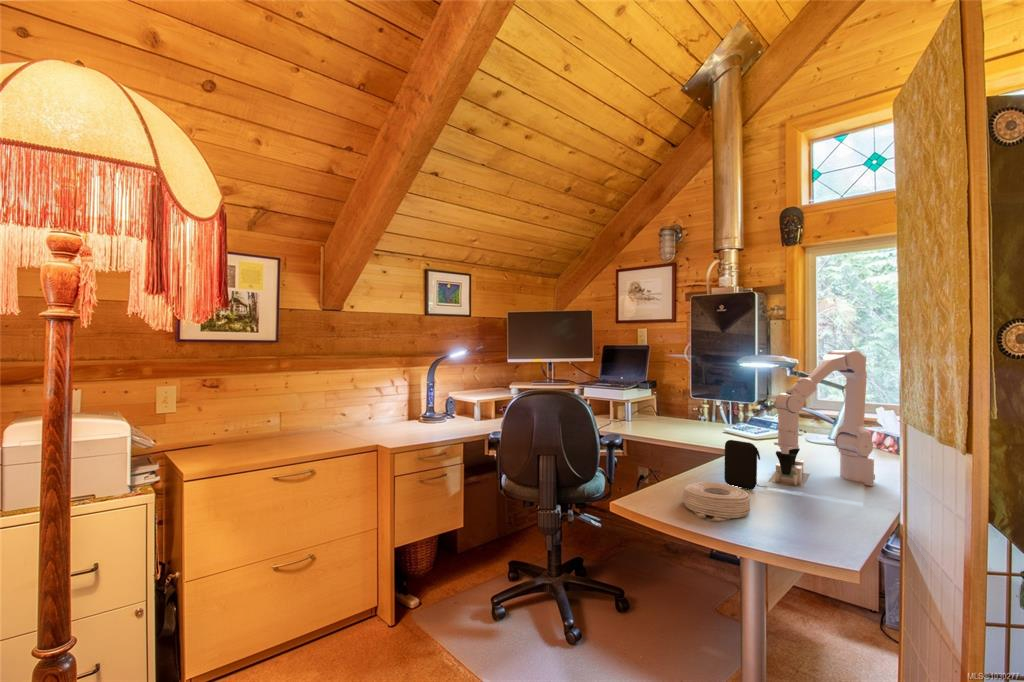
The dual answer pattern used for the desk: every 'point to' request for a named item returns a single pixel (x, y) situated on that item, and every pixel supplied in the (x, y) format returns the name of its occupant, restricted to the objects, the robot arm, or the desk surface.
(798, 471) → the light wooden block
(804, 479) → the grey peg board
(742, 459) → the carrying case or bag
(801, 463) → the tan rectangular block
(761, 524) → the desk surface
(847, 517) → the desk surface
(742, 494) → the cable
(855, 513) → the desk surface
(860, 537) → the desk surface
